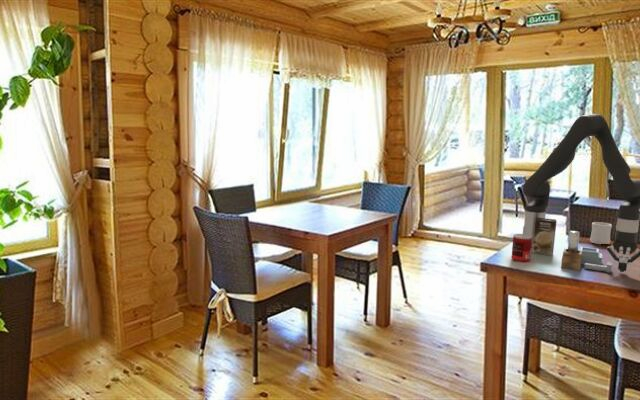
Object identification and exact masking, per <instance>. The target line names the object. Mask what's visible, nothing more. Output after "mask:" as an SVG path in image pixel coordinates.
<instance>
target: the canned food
mask: <svg viewBox="0 0 640 400" xmlns="http://www.w3.org/2000/svg"><path fill="white" fill-rule="evenodd" d="M531 244H532V236H530V235H527V234H523V233H514V234H513V235H512V248H511V260H513V261H515V262H517V263H518V262H519V263H528V262H530V260H531V255H532V254H531V253H532V247H531Z"/></svg>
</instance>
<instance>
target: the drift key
mask: <svg viewBox="0 0 640 400" xmlns="http://www.w3.org/2000/svg"><path fill="white" fill-rule="evenodd" d="M606 262H607V263H606V265H603V264H601V265H596V264H589V263H585V265H584V269H585V270H591V271H593V270H594V271H598V272H599V271H600V272H605V273H608V274H609V273H610V274H611V273H612V266H613V265H612V264H613V262H611V261H610V262H609V261H606Z"/></svg>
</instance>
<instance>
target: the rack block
mask: <svg viewBox="0 0 640 400" xmlns="http://www.w3.org/2000/svg"><path fill="white" fill-rule="evenodd" d="M579 250H581V251H582V260H581V265H583V264H584V265H583V266H585V263H589V264H596V265H602V262H603V261H602V260H603V253H600V252H599V251H600V249H599V248H593V247H587V246H580V249H579Z"/></svg>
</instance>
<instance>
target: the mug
mask: <svg viewBox="0 0 640 400" xmlns="http://www.w3.org/2000/svg"><path fill="white" fill-rule="evenodd" d="M612 227H613V225H612V223H609V222H599V221H594V222H592V223H591V233H590V238H589V241H590V243H592V244H595V245H601V244H608V245H610V244H611V231H612Z"/></svg>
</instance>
